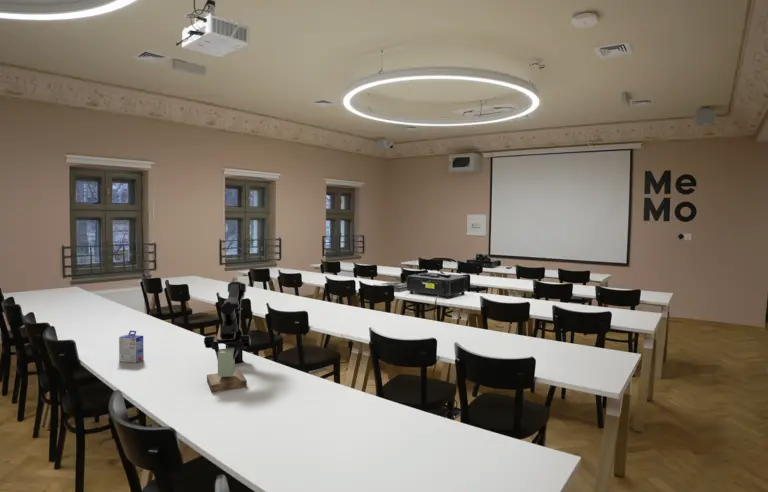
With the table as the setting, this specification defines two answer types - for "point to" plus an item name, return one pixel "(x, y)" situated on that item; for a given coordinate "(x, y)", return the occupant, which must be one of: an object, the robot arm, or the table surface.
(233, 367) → the sage block
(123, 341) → the ink cartridge box
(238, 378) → the walnut plinth
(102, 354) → the table surface
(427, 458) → the table surface
